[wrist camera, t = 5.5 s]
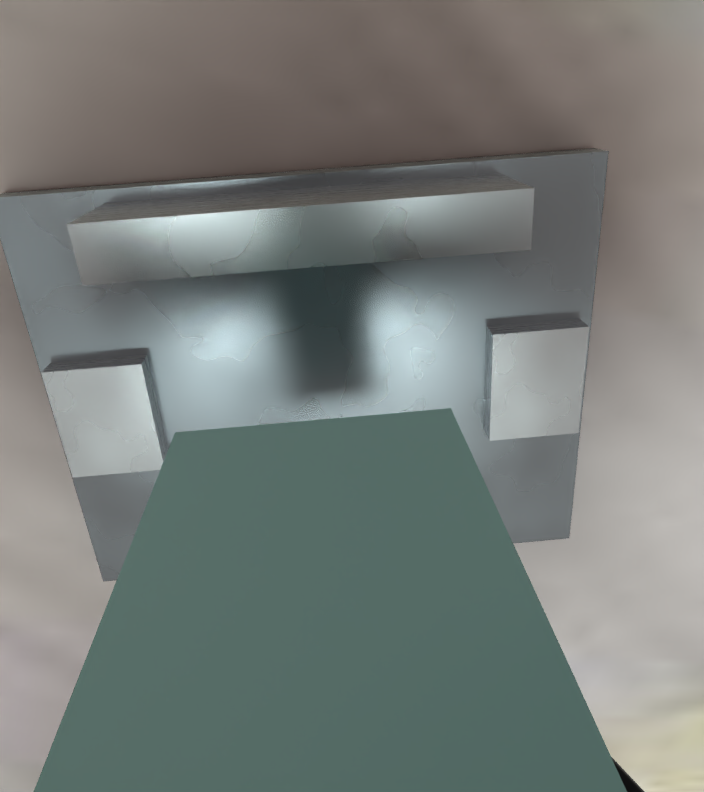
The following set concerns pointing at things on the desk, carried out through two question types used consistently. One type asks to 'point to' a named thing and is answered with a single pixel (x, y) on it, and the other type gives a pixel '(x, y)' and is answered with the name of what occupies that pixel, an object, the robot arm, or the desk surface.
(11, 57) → the desk surface
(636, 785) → the robot arm
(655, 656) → the desk surface
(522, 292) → the plate
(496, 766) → the block
